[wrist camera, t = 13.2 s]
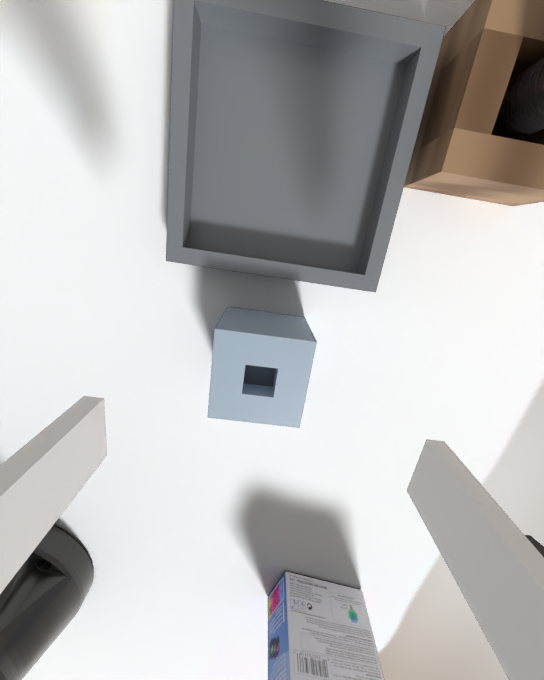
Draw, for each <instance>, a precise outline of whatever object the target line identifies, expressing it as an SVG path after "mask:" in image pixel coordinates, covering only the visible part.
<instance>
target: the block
mask: <svg viewBox="0 0 544 680" xmlns="http://www.w3.org/2000/svg"><path fill="white" fill-rule="evenodd" d="M316 343H317V341H316V339H315V337H314V335H313V333H312V331H311V329H310V327H309V325H308V323H307V321H306V319H305V317H300V316H292V315H285V314H278V313H270V312H263V311H255V310H248V309H240V308H233V307H228V308H227V309H226V311H225V313H224V314H223V316H222V317H221V319H220V321H219V322H218V324H217V326H216V327H215V330H214V343H213V355H212V368H211V380H210V393H209V405H208V418H216V419H225V420H234V421H243V422H252V423H261V424H270V425H279V426H288V427H297V428H300V423H301V418H302V413H303V408H304V403H305V398H306V393H307V388H308V383H309V378H310V373H311V368H312V363H313V358H314V353H315V348H316Z"/></svg>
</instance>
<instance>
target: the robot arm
mask: <svg viewBox="0 0 544 680" xmlns="http://www.w3.org/2000/svg"><path fill="white" fill-rule="evenodd" d="M106 456H107V448H106V427H105V406H104V399H103V398H96V397H88V396H84V397H82V398H81V399H80V400H79V401H78V402H76V403H75V404H74V405H73V406H72V407H70V408H69V409H68V410H67V411H66V412H64V413H63V414H62V415H61V416H60V417H58V418H57V419H56V420H55V421H54V422H52V423H51V424H50V425H49V426H48V427H46V428H45V429H44V430H43V431H41V432H40V433H39V434H38V435H37V436H35V437H34V438H33V439H32V440H31V441H29V442H28V443H27V444H26V445H25V446H23V447H22V448H21V449H20V450H19V451H17V452H16V453H15V454H14V455H13V456H11V457H10V458H9V459H8V460H7V461H5V462H4V463H3V464H2V465H1V466H0V680H22V679H23V677H24V676H25V675H26V674H27V673H28V671H29V670H30V669H31V668H32V667H33V665H34V664H35V663H36V662H37V661H38V659H39V658H40V657H41V656H42V655H43V654H44V652H45V651H46V650H47V649H48V648H49V646H50V645H51V644H52V643H53V642H54V640H55V639H56V638H57V637H58V636H59V634H60V633H61V632H62V631H63V630H64V628H65V627H66V626H67V625H68V624H69V622H70V621H71V620H72V619H73V618H74V616H75V615H76V613H77V612H78V610H79V609H80V607H81V605H82V603H83V601H84V599H85V597H86V595H87V593H88V591H89V589H90V587H91V585H92V582H93V567H92V563H91V561H90V558H89V556H88V555H87V553H86V552H85V550H84V549H83V548H82V546H81V545H80V544H79V543H78V542H77V541H76V540H75V539H73V538H72V537H71V536H70V535H68V534H67V533H66V532H64V531H63V530H61V529H59V528H57V527H56V526H54V523H55V522H56V521H57V520H58V518H59V517H60V516H61V514H62V513H63V512H64V510H65V509H66V508H67V507H68V505H69V504H70V503H71V501H72V500H73V499H74V497H75V496H76V495H77V494H78V492H79V491H80V490H81V488H82V487H83V486H84V484H85V483H86V482H87V480H88V479H89V478H90V477H91V475H92V474H93V473H94V471H95V470H96V469H97V467H98V466H99V465H100V464H101V462H102V461H103V460H104V458H105V457H106ZM407 492H408V494H409V495H410V497H411V499H412V501H413V503H414V505H415V507H416V508H417V510H418V512H419V514H420V516H421V518H422V520H423V521H424V523H425V525H426V527H427V529H428V531H429V532H430V534H431V536H432V538H433V540H434V542H435V544H436V545H437V547H438V549H439V551H440V553H441V555H442V557H443V558H444V560H445V562H446V564H447V566H448V568H449V569H450V571H451V573H452V575H453V577H454V579H455V580H456V582H457V584H458V586H459V588H460V590H461V592H462V594H463V595H464V597H465V599H466V601H467V603H468V604H469V607H470V608H471V610H472V612H473V614H474V616H475V618H476V619H477V621H478V623H479V625H480V627H481V629H482V631H483V632H484V634H485V636H486V638H487V640H488V642H489V644H490V645H491V647H492V649H493V651H494V653H495V654H496V656H497V658H498V660H499V662H500V664H501V666H502V668H503V669H504V671H505V673H506V675H507V677H508V679H509V680H544V547H543V546H542V545H541V544H540V543H538V542H537V541H536V540H535V539H534V538H532V537H531V536H529V535H524V534H523V533H522V532H521V530H520V529H519V528H518V527H517V526H516V525H515V523H514V522H513V521H512V520H511V519H510V518H509V516H508V515H507V514H506V513H505V512H504V511H503V509H502V508H501V507H500V506H499V505H498V504H497V503H496V501H495V500H494V499H493V498H492V497H491V495H490V494H489V493H488V492H487V491H486V490H485V488H484V487H483V486H482V485H481V484H480V483H479V481H478V480H477V479H476V478H475V477H474V476H473V474H472V473H471V472H470V471H469V470H468V469H467V467H466V466H465V465H464V464H463V463H462V462H461V460H460V459H459V458H458V457H457V456H456V455H455V453H454V452H453V451H452V450H451V449H450V448H449V446H448V445H447V444H446V443H445V442H443V441H436V440H428V439H427V440H426V442H425V445H424V447H423V450H422V452H421V455H420V458H419V460H418V463H417V465H416V468H415V470H414V473H413V476H412V478H411V481H410V483H409V486H408V488H407Z"/></svg>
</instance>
